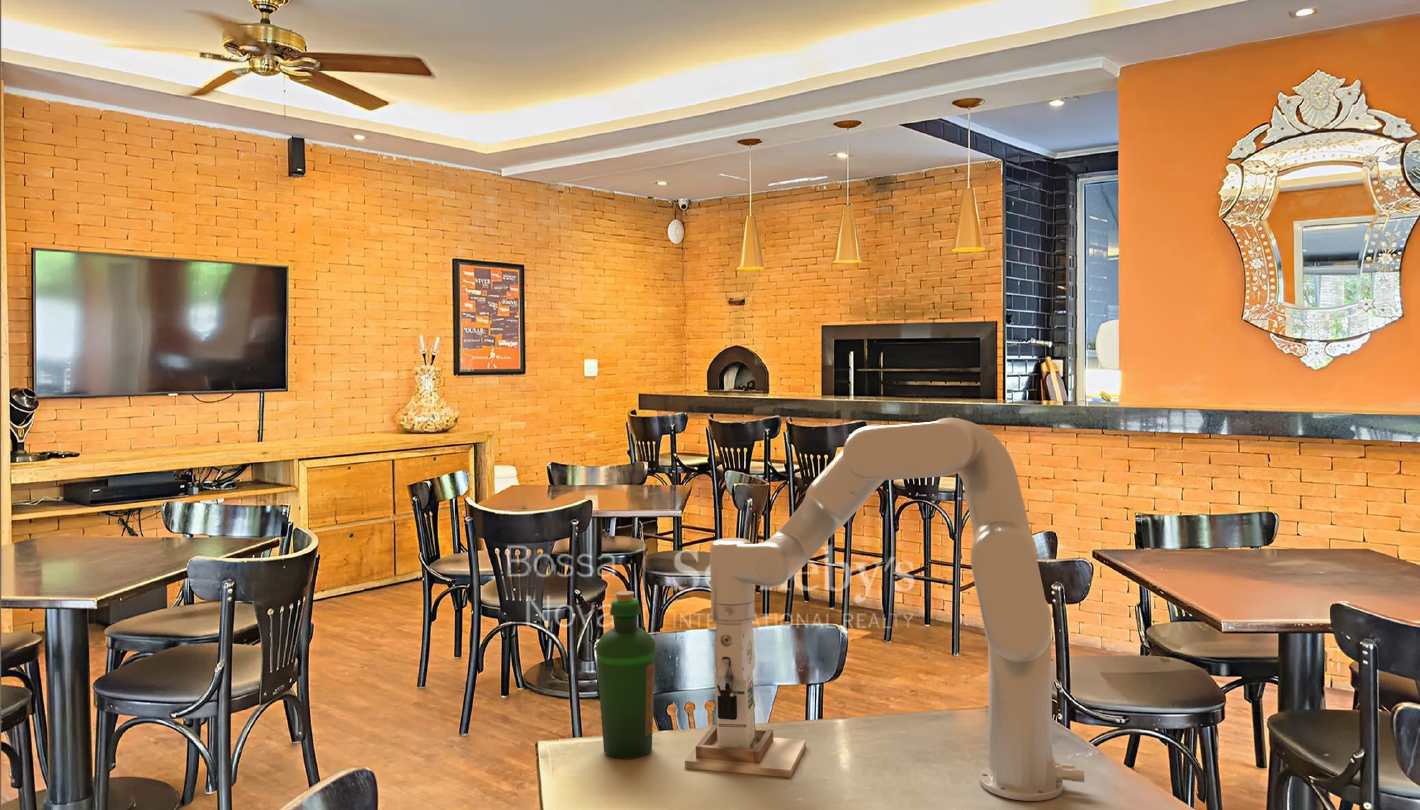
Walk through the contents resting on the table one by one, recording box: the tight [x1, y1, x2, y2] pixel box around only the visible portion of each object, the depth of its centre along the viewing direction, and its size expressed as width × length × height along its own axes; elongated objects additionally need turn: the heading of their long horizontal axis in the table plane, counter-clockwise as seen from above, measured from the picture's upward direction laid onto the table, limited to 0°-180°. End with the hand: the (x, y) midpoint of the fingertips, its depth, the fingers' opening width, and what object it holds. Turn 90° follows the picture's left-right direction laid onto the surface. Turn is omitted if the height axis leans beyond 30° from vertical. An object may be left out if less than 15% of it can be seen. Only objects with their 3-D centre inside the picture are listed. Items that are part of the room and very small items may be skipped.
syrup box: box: [713, 665, 756, 749], centre depth 171 cm, size 6×6×14 cm
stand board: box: [684, 724, 807, 778], centre depth 171 cm, size 18×14×3 cm
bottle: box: [595, 590, 656, 760], centre depth 174 cm, size 11×11×28 cm
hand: (734, 709), depth 171 cm, fingers open, 9 cm apart
